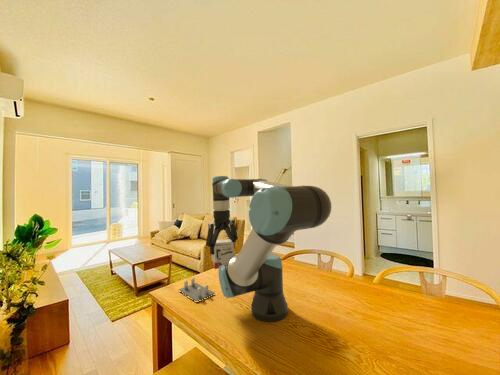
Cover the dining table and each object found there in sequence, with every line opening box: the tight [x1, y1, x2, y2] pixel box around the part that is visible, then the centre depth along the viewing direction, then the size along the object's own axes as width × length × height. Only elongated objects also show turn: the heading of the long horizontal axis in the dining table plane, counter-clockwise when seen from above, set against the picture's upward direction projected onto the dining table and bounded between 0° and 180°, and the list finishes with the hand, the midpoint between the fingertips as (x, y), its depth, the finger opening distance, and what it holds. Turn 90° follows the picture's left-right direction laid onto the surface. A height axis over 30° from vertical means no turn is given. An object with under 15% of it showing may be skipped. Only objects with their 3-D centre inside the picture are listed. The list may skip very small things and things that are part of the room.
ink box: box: [212, 238, 234, 270], centre depth 99 cm, size 9×5×12 cm, turn 106°
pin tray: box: [178, 277, 216, 301], centre depth 106 cm, size 17×10×5 cm, turn 45°
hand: (223, 258), depth 99 cm, fingers closed on ink box, 9 cm apart
